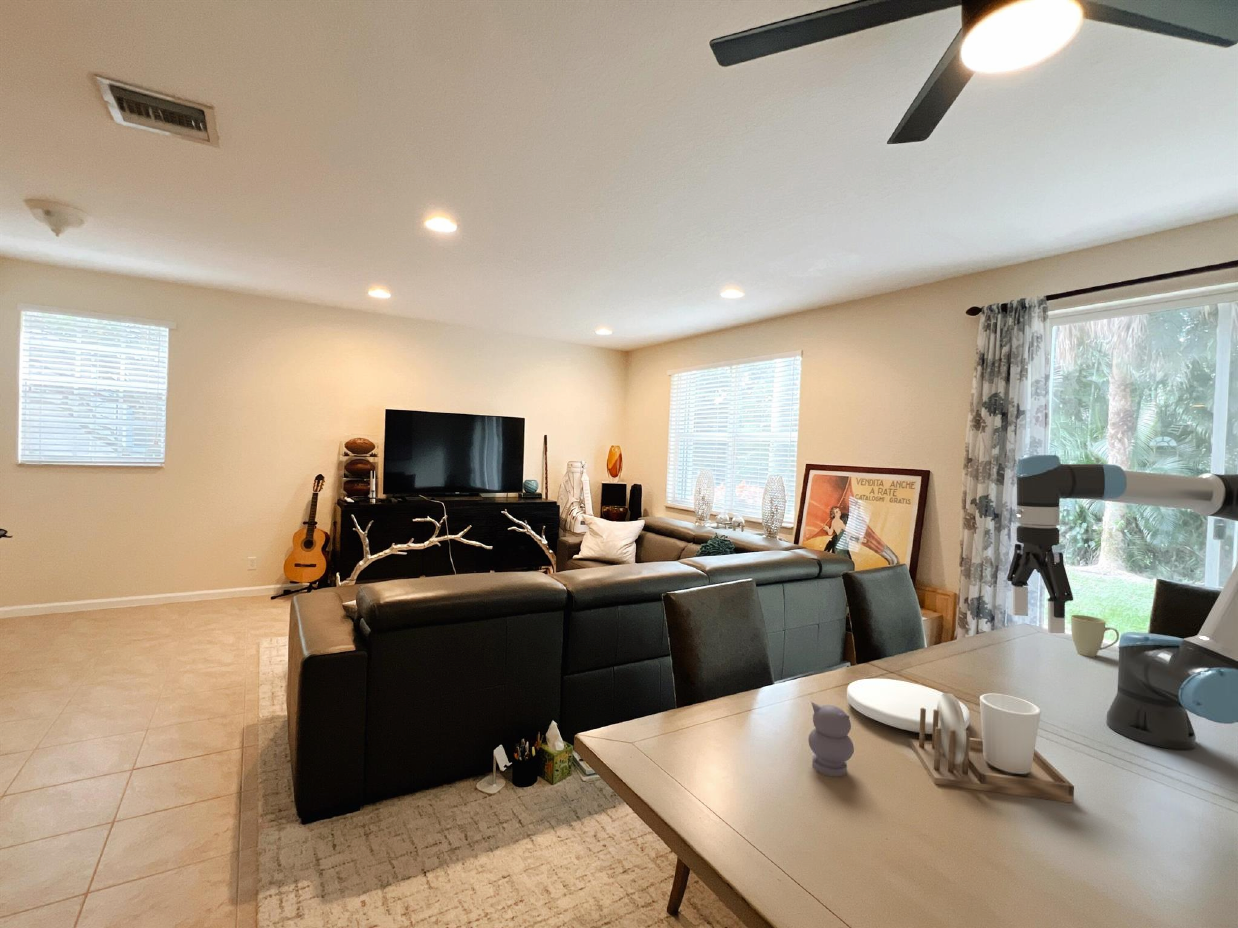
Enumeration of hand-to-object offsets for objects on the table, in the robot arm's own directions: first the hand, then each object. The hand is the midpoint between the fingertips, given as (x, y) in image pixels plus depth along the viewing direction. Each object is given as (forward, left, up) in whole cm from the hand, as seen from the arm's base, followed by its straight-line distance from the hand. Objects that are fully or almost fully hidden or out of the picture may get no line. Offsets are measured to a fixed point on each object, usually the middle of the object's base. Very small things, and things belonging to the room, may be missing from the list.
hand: (1037, 623), depth 124 cm
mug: (-53, -78, -27) cm, 98 cm away
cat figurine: (+45, +21, -27) cm, 57 cm away
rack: (+15, +14, -27) cm, 34 cm away
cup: (+11, +14, -26) cm, 31 cm away
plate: (+23, -9, -27) cm, 37 cm away
